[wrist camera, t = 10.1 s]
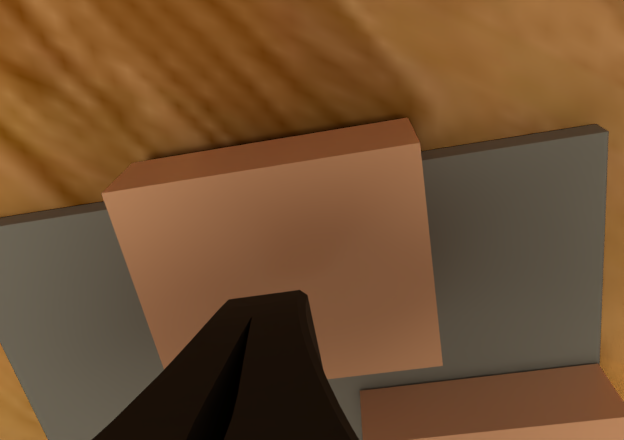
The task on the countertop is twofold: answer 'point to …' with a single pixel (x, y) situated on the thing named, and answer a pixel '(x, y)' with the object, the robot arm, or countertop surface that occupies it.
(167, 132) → the countertop surface
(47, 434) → the mat
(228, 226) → the tile near
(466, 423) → the tile far
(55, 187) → the countertop surface
